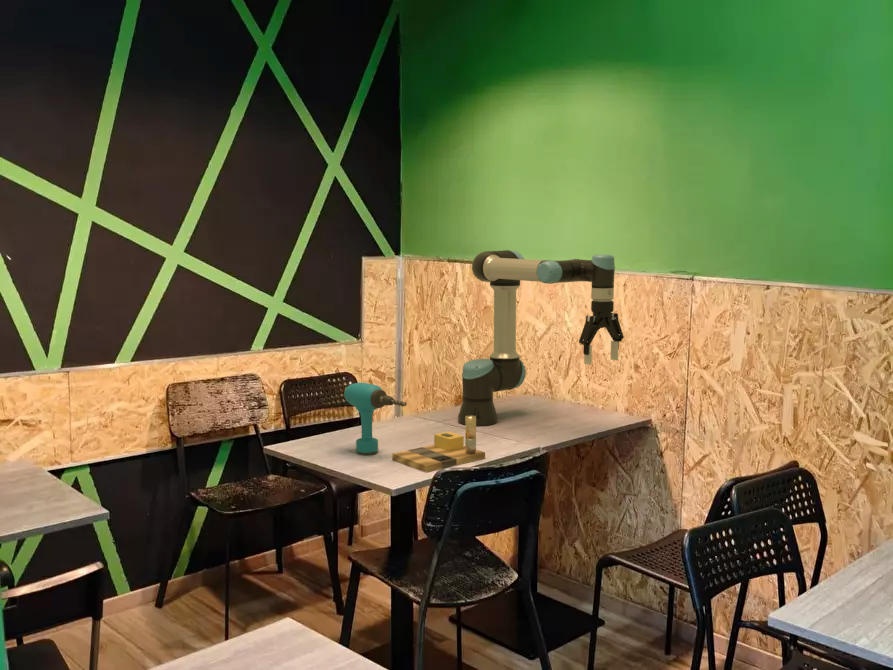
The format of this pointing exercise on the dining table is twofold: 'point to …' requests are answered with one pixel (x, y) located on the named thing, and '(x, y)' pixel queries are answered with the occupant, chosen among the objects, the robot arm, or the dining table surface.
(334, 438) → the dining table surface
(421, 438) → the dining table surface
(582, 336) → the robot arm
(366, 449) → the power drill
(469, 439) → the brass cylinder rod
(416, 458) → the subfloor panel
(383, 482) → the dining table surface
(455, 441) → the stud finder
